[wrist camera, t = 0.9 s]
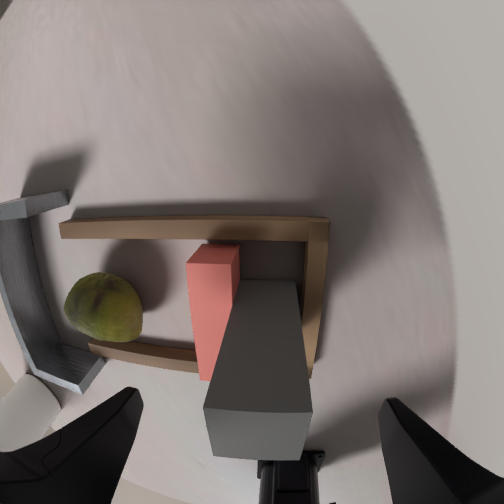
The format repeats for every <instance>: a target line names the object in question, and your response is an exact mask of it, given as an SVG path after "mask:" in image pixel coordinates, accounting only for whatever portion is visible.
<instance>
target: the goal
mask: <svg viewBox="0 0 504 504" xmlns="http://www.w3.org/2000/svg"><path fill="white" fill-rule="evenodd" d="M65 205H68V194H67V190H62V191H56V192H49V193H43V194H38V195H32V196H27V197H22V198H17V199H13V200H10V201H6V202H3V203H0V293H1V296H2V299H3V302H4V305H5V308H6V311H7V314H8V317H9V319H10V322H11V325H12V327H13V330H14V332H15V335H16V337H17V339H18V342H19V344H20V346H21V348H22V351H23V353H24V355H25V357H26V359H27V361H28V363H29V365H30V367H31V369H32V371H33V373H34V375H36V376H39V377H41V378H43V379H45V380H47V381H50V382H52V383H54V384H57V385H59V386H62V387H64V388H66V389H69V390H72V391H74V392H77V393H80V394H82V395H83V394H84V393H85V391H86V390H87V388H88V387H89V386H90V384H91V383H92V381H93V380H94V379H95V377H96V376H97V375H98V373H99V372H100V371H101V369H102V368H103V367H104V365H105V361H104V358H103V356H99V355H95V354H92V353H91V352H89V351H85V350H82V349H78V348H74V347H71V346H68V345H64V344H61V343H60V340H59V337H58V335H57V332H56V329H55V327H54V324H53V321H52V318H51V315H50V312H49V309H48V305H47V302H46V299H45V295H44V292H43V288H42V284H41V281H40V277H39V273H38V268H37V264H36V259H35V254H34V249H33V244H32V238H31V232H30V226H29V218H28V217H30V216H33V215H36V214H39V213H42V212H45V211H49V210H52V209H55V208H59V207H62V206H65Z"/></svg>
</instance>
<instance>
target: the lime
mask: <svg viewBox="0 0 504 504" xmlns="http://www.w3.org/2000/svg"><path fill="white" fill-rule="evenodd" d="M64 311H65V314H66V316H67V317H68V319H69V321H70V323H71V324H72V325H73V326H74V327H75V328H76V329H77V330H78V331H81V332H82V333H84V334H86V335H88V336H90V337H92V338H94V339H97V340H102V341H103V340H105V341H113V342H129V341H131V340H134V339H136V338H137V337H139V335H140V333H141V331H142V323H143V321H142V320H143V311H142V305H141V300H140V298H139V296H138V294H137V293H136V291H135V290H134V289H133V287H132V286H131V285H130V283H128V282H127V281H126V280H124V279H123V278H120V277H118V276H116V275H112V274H109V273H101V272H97V273H93V274H90V275H87V276H85V277H83V278H81V279H79V280H78V281H77V282H76V283H75V285H74V286H73V288H72V289H71V291H70V292H69V294H68V296H67V298H66V301H65V305H64Z"/></svg>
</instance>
